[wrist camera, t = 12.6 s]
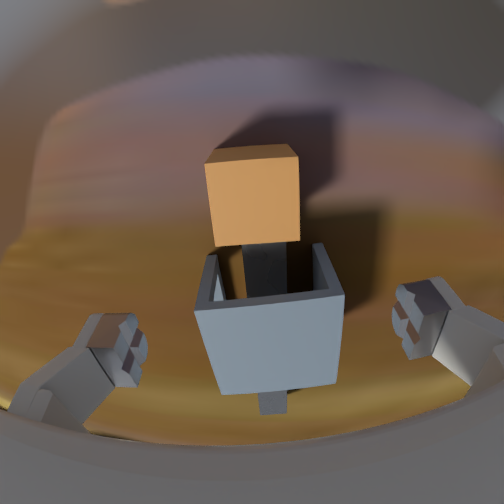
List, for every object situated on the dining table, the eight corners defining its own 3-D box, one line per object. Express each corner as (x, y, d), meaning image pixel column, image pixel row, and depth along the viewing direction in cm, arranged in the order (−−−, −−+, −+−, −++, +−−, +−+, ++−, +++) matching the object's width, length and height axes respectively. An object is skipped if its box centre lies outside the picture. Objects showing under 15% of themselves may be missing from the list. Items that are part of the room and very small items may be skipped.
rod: (284, 393, 34) (286, 413, 31) (259, 394, 34) (260, 415, 31) (281, 209, 22) (285, 226, 20) (241, 212, 23) (240, 229, 20)
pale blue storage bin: (321, 327, 28) (335, 383, 22) (226, 337, 28) (221, 394, 22) (322, 242, 23) (344, 294, 17) (206, 255, 24) (193, 311, 18)
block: (289, 210, 22) (299, 240, 18) (222, 215, 22) (215, 246, 18) (287, 143, 20) (298, 156, 15) (214, 148, 20) (204, 163, 16)
